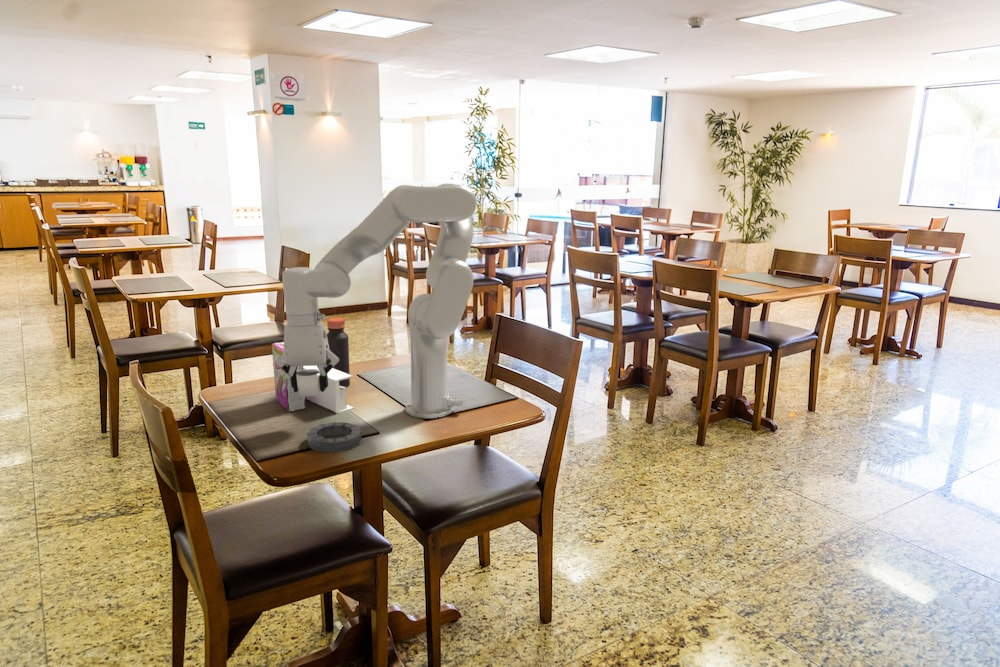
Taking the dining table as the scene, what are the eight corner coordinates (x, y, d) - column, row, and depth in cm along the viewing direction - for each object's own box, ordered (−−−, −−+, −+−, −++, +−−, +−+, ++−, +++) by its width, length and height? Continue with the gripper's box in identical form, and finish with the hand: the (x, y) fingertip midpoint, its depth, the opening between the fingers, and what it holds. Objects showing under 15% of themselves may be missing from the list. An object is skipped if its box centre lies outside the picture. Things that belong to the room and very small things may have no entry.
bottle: (338, 390, 193) (335, 323, 188) (321, 386, 197) (318, 320, 192) (354, 384, 199) (352, 319, 194) (338, 380, 202) (336, 316, 197)
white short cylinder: (325, 387, 168) (323, 368, 166) (319, 396, 162) (317, 376, 161) (302, 388, 168) (300, 368, 166) (294, 396, 162) (292, 376, 161)
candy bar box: (274, 400, 184) (270, 343, 180) (292, 397, 187) (289, 340, 183) (287, 412, 175) (284, 352, 171) (306, 409, 178) (303, 350, 174)
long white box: (354, 409, 179) (353, 375, 177) (336, 414, 175) (335, 380, 173) (313, 391, 192) (311, 360, 190) (295, 395, 188) (294, 363, 186)
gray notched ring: (365, 432, 164) (365, 422, 163) (354, 453, 152) (354, 442, 152) (316, 431, 164) (315, 421, 163) (301, 451, 152) (301, 441, 151)
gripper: (342, 314, 164) (348, 384, 168) (272, 316, 164) (280, 385, 169) (335, 322, 156) (341, 394, 161) (261, 323, 156) (270, 396, 161)
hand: (310, 389), depth 165 cm, fingers closed on white short cylinder, 5 cm apart
